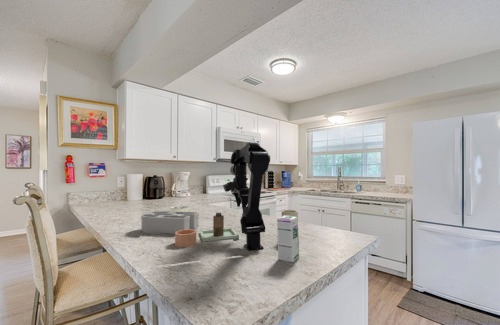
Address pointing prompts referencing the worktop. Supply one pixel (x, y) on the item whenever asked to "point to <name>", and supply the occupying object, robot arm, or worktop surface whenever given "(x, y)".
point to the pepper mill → (218, 225)
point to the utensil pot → (185, 238)
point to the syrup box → (288, 238)
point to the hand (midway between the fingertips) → (241, 208)
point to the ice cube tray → (169, 222)
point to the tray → (228, 234)
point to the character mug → (290, 213)
